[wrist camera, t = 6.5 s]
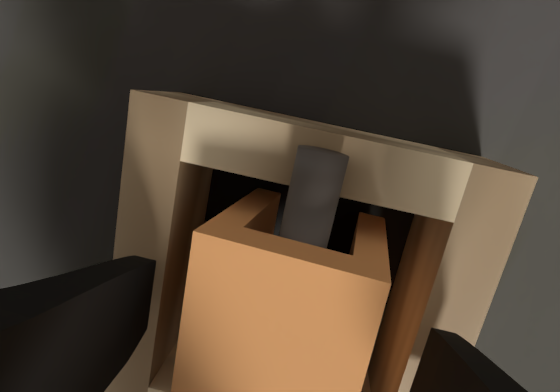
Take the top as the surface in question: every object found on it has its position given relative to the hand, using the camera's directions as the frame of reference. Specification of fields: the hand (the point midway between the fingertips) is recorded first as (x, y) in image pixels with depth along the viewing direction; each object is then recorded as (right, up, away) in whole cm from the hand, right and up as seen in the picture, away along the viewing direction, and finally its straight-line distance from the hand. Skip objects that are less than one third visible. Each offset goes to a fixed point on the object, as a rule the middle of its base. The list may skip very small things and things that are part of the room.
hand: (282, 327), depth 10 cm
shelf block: (+1, +1, +4) cm, 4 cm away
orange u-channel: (+1, +1, +3) cm, 4 cm away
